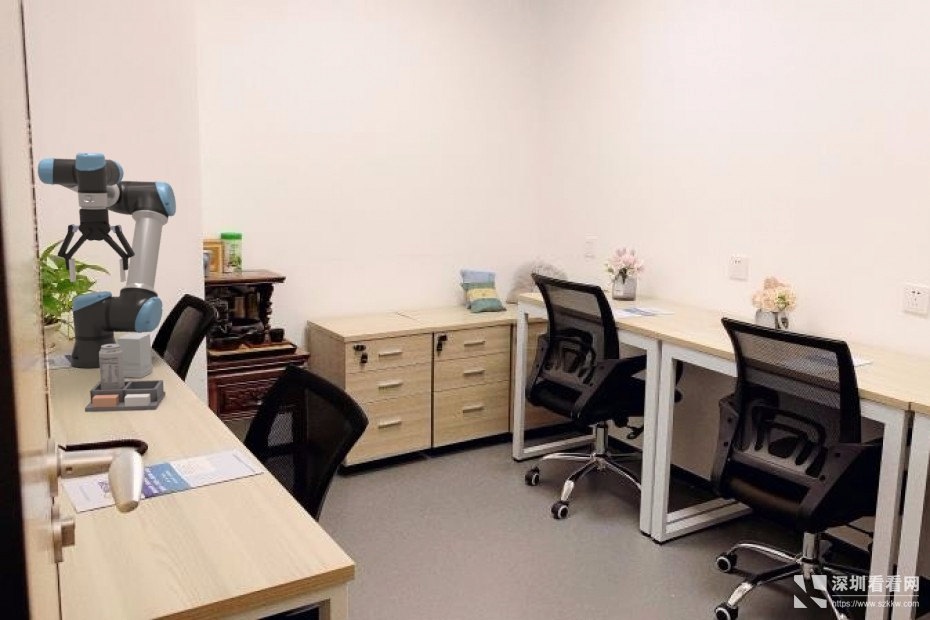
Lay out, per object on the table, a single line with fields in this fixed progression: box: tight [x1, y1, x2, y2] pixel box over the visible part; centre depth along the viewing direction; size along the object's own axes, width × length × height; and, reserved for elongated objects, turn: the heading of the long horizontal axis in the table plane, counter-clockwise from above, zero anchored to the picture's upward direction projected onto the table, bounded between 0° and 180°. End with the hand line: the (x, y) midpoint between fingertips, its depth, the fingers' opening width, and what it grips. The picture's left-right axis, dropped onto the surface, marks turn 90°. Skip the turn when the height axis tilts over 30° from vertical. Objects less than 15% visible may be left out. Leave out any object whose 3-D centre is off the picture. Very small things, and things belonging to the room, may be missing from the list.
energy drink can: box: [99, 343, 125, 390], centre depth 214 cm, size 6×6×15 cm
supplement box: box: [116, 332, 153, 379], centre depth 241 cm, size 7×7×13 cm
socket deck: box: [84, 379, 166, 412], centre depth 214 cm, size 13×18×4 cm
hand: (98, 281), depth 223 cm, fingers open, 13 cm apart
